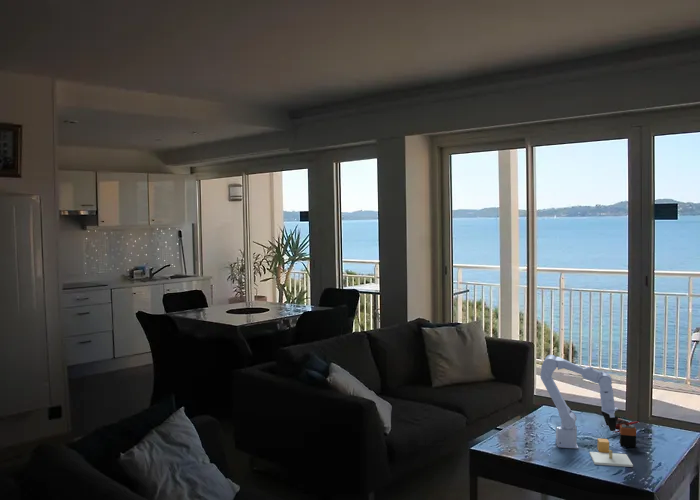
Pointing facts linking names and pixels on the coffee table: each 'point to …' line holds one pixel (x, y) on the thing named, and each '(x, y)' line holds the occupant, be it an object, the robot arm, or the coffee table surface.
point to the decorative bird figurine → (623, 423)
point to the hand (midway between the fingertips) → (610, 428)
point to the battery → (628, 435)
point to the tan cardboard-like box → (603, 445)
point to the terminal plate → (610, 459)
